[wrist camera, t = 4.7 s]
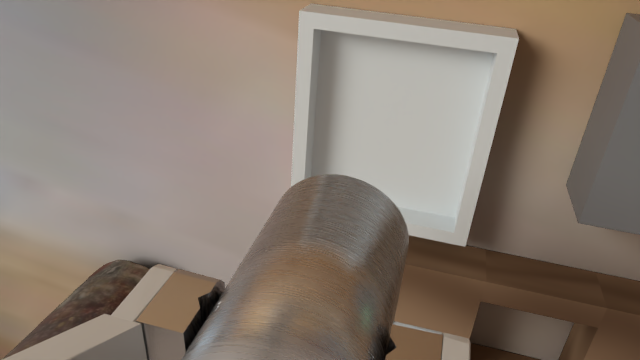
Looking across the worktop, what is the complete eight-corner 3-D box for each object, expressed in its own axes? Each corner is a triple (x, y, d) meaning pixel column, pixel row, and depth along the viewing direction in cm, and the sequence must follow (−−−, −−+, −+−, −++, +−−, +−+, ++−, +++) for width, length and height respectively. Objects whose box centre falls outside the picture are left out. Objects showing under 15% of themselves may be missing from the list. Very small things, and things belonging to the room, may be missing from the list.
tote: (310, 3, 21) (299, 10, 19) (515, 29, 19) (518, 38, 18) (299, 193, 25) (289, 210, 24) (466, 226, 24) (465, 246, 22)
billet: (275, 162, 13) (57, 467, 6) (419, 189, 12) (346, 565, 6) (273, 271, 15) (104, 595, 8) (398, 300, 14) (324, 681, 7)
